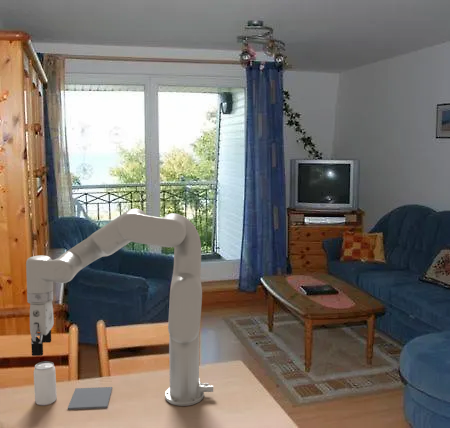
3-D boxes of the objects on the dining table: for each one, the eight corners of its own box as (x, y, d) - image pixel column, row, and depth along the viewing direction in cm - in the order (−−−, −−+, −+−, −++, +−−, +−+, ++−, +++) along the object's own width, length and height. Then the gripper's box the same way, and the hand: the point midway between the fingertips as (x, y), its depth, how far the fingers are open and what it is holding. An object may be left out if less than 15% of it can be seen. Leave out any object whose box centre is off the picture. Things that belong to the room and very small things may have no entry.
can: (49, 407, 151) (47, 370, 150) (30, 404, 153) (28, 368, 151) (60, 396, 158) (59, 361, 156) (42, 394, 159) (40, 359, 157)
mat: (112, 388, 163) (112, 386, 163) (107, 407, 151) (107, 406, 151) (75, 390, 162) (75, 388, 162) (67, 409, 150) (67, 407, 150)
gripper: (45, 305, 142) (47, 360, 144) (59, 287, 159) (60, 337, 161) (18, 305, 141) (20, 361, 144) (35, 287, 158) (37, 337, 161)
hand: (41, 348), depth 152 cm, fingers open, 9 cm apart
